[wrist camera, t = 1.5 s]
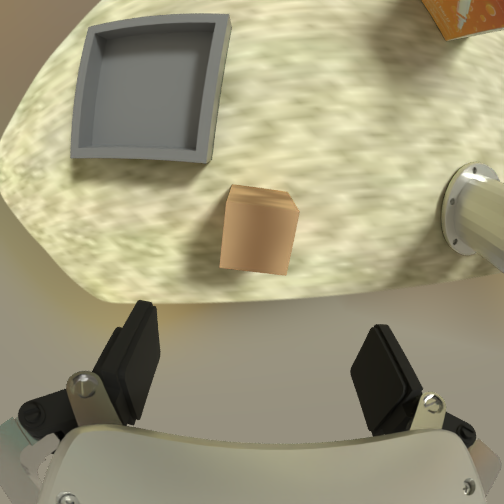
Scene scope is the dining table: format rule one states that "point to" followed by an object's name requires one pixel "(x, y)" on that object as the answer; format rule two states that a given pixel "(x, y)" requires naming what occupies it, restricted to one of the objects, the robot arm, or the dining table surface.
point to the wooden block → (258, 230)
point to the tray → (151, 88)
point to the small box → (466, 17)
